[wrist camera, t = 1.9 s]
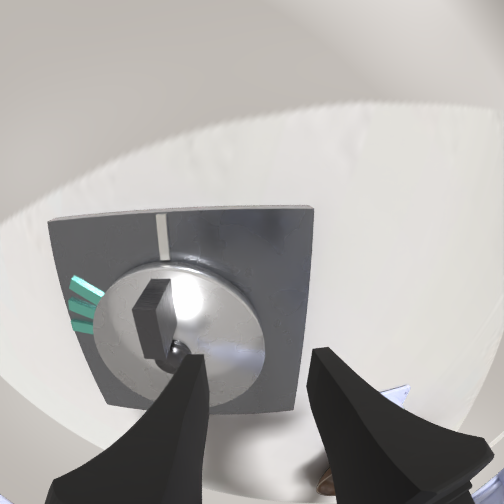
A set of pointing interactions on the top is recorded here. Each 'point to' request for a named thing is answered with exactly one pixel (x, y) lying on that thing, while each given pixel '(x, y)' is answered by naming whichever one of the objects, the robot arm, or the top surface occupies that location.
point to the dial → (178, 329)
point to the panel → (204, 255)
